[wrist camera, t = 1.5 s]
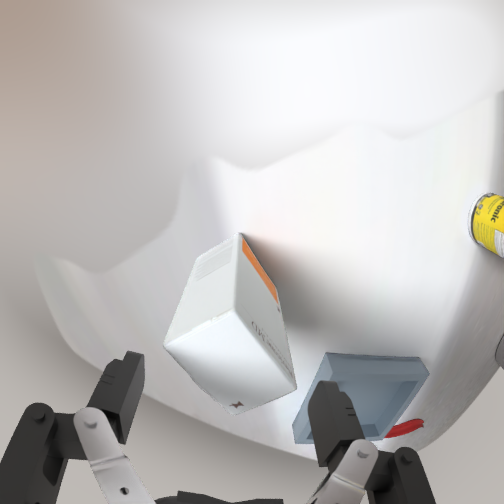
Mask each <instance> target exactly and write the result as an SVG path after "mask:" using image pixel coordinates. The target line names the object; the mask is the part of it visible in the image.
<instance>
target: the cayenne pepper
mask: <svg viewBox="0 0 504 504" xmlns="http://www.w3.org/2000/svg"><path fill="white" fill-rule="evenodd" d="M422 423H424V421H423V420H421V419H414V420H410V421H407V422H405V423H402V424H399V425H396V426H393V427H392V428H391V430H390V431H389V432H388V433H387V435H386V436H385V437H384V438H391V437H396V436H400V435H404V434H407V433H409V432H412V431H414V430H416V429H418V428H420V427H423V425H422Z"/></svg>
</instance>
